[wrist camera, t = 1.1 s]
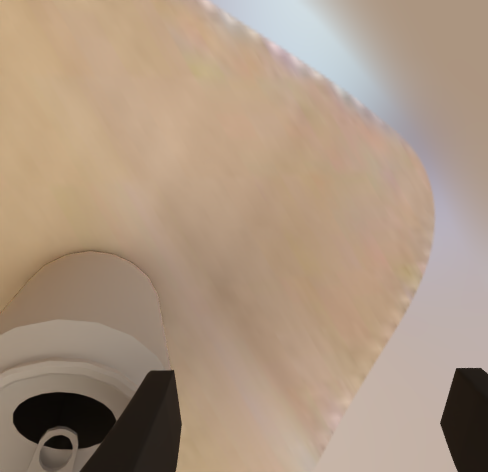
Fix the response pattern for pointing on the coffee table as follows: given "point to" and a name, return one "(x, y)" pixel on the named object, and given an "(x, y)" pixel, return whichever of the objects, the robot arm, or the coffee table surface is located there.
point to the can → (74, 358)
